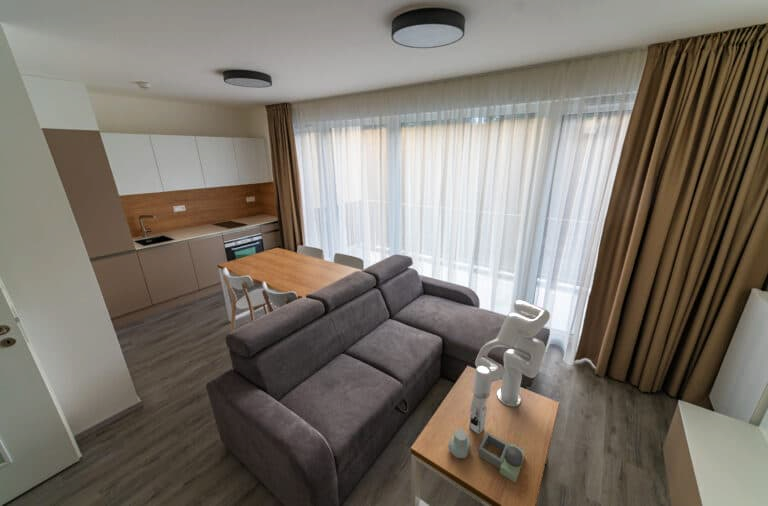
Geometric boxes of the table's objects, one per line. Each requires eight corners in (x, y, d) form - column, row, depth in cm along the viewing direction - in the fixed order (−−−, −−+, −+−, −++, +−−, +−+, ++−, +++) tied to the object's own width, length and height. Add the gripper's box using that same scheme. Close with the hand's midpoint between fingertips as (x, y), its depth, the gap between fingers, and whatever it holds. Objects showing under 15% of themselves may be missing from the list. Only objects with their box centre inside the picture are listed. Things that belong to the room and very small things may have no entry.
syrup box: (484, 428, 147) (487, 406, 142) (479, 435, 143) (482, 413, 139) (474, 421, 151) (477, 399, 146) (468, 428, 147) (471, 406, 142)
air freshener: (455, 436, 143) (457, 421, 140) (472, 446, 138) (474, 431, 135) (446, 454, 135) (447, 438, 131) (462, 465, 130) (464, 449, 127)
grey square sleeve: (487, 436, 143) (488, 425, 141) (524, 457, 133) (526, 446, 130) (476, 458, 133) (477, 447, 130) (515, 483, 122) (518, 471, 120)
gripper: (480, 376, 148) (476, 402, 153) (466, 397, 135) (463, 425, 140) (495, 383, 143) (491, 410, 149) (482, 405, 130) (478, 434, 136)
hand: (477, 417), depth 144 cm, fingers open, 9 cm apart
